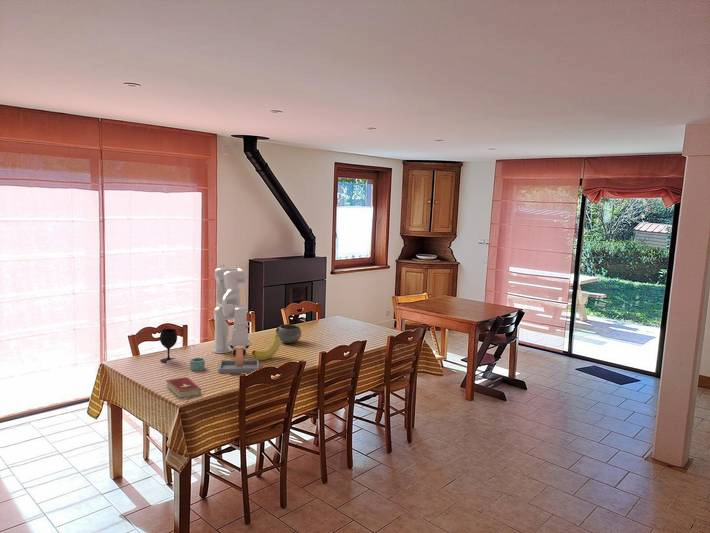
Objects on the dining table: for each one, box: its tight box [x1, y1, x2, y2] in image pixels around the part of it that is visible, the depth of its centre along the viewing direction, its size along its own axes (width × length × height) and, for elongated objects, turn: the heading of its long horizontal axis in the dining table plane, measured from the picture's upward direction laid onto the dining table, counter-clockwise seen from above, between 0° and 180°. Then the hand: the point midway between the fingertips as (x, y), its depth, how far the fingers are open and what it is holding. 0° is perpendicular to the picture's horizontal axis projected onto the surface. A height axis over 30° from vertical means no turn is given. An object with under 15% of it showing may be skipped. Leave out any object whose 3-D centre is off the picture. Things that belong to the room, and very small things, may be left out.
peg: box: [234, 346, 245, 367], centre depth 332 cm, size 5×5×11 cm
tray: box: [218, 359, 260, 375], centre depth 333 cm, size 18×24×4 cm
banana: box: [251, 327, 281, 361], centre depth 358 cm, size 23×6×20 cm, turn 138°
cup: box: [189, 357, 206, 372], centre depth 328 cm, size 8×8×6 cm
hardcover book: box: [165, 376, 202, 398], centre depth 293 cm, size 12×21×4 cm, turn 36°
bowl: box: [278, 323, 302, 344], centre depth 402 cm, size 18×18×13 cm
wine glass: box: [159, 328, 178, 364], centre depth 343 cm, size 10×10×20 cm
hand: (239, 355), depth 332 cm, fingers closed on peg, 5 cm apart
